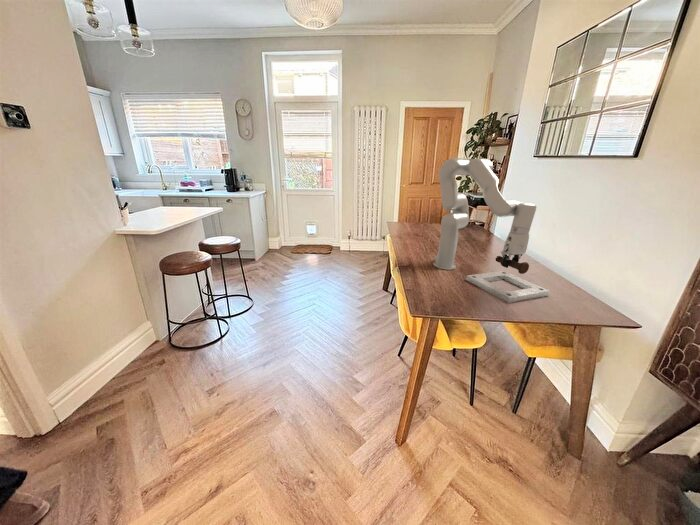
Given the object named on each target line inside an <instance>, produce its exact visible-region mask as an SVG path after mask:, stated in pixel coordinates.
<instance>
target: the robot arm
mask: <svg viewBox="0 0 700 525" xmlns="http://www.w3.org/2000/svg"><path fill="white" fill-rule="evenodd" d="M493 168H494V165H493V162H492V161H491V160H490V159H488V158H478V157H477V158H459V157H451V158H448V159H447V160H445V161H444V162H443V163H442V165H441V166H440V168H439V171H438V179H439V184H440V195H441V196H440V197H441V204H442V208H443V209H444V210H446V211H451V212H448V213H446V214H445V215H444V216H443V217H442V219H441V221H440V222H441V223H440V226H441V227H440V239H439V245H438V251H437V255H436V254H435V256H433V259H434V260H435V261H433V266H434V267H435V268H437V269H440V270H444V271H445V270H446V271H448V270H449V271H450V270H451V271H453V270H455V269H456V268H457V267H456V264H454V263H455V257H456V251H457V247H458V242H459V241H458V240H459V232H458V230H459V229H463V228H465V227H466V226H468V224H469V221H470V212H469V201H468V198H467V196H466V195H465V194H464V193H462V192H459V191H458V184H457V180H456V178H455V176H471V178H472V179H473V180H474V181H475V183H476V185H477V186H478V187H479V189H480V190H481V191H482V192H481V193H482V197H483V200H484V202H485V204H486V205H487V206H488V208H489V209H490V211H491V212H492V213H493V214H494V215H495V216H496V217H498V218H506V217H513V219H512V222H511V226H510V230H509V232H508V235H507V237H506V240H505V242H504V246H503V249H502V250H501V251H500V254H501V257H503V258H504V259H503V262H502V265H501V266H502V267H504V268H506V269H508V268H509V267H510V266H509V262H510V260H513V261H516V262H518V263H520V262H519V261H520V260H521V258H522V256H523V255H524V254H526V252H527V249H528V245H529V240H530V230H531V227H532V224H533V221H534V217H535V214H536V211H537V205H536V204H534V203H530V202H522V201H518V200H514V199H505V198H504V196H503V195H502V193H501V192H500V191H499V187H498V185H499V182H500V180H499V178H498V177H497V175H496V174H495V173H494V172H493ZM512 256H513V257H512ZM511 257H512V258H511ZM509 259H510V260H509Z"/></svg>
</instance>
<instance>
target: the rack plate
mask: <svg viewBox="0 0 700 525" xmlns="http://www.w3.org/2000/svg"><path fill="white" fill-rule="evenodd" d="M502 280H504V281H506V282H507V283H510V284H513V285H515V286H516V287H518V288H520V289H518V290H511V291H507V290H506V289H503V288H502V287H500V286H499V285H496V284H494V283H492V282H495V281H502ZM465 281H468V282H469V283H471V284H473V285H475V286H477V287H478V288H480V289H482V290H483V291H486V292H487V293H489V294H491V295H493V296H494V297H497V298H498V299H500V300H502V301H504V302H506V303H508V304H510V303H515V302H521V301H527V300H532V299H537V298H538V297H539V298H543V297H548V296H549V295H550V292H551V290H549V289H547V288H544V287H542V286H539V285H537V284H535V283H533V282H531V281H528V280H526V279H523V278H521V277H520V276H519V277H518V276H517V275H514V274H512V273H510V272H508V271H505V270H499V271H493V272H491V271H490V272H485V273H483V272H482V273H476V274H469V275H466V278H465ZM521 288H522V289H521ZM549 297H550V296H549Z"/></svg>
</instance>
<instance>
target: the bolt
mask: <svg viewBox="0 0 700 525" xmlns="http://www.w3.org/2000/svg"><path fill="white" fill-rule="evenodd" d="M503 259H504V258H503V256H502V255H498V256H496V257H495V261H496V262H497V263H499V264H500V266H502V262H503ZM509 260H510V262H509V266H508V267H510V268H513V269H516V270H518V274H521V275H523V274H526V273H527V272H528V271H529V269H530V264H529V263H528V262H526V261H524V262H516V261H513V260H512V259H511V258H510V259H509Z"/></svg>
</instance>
